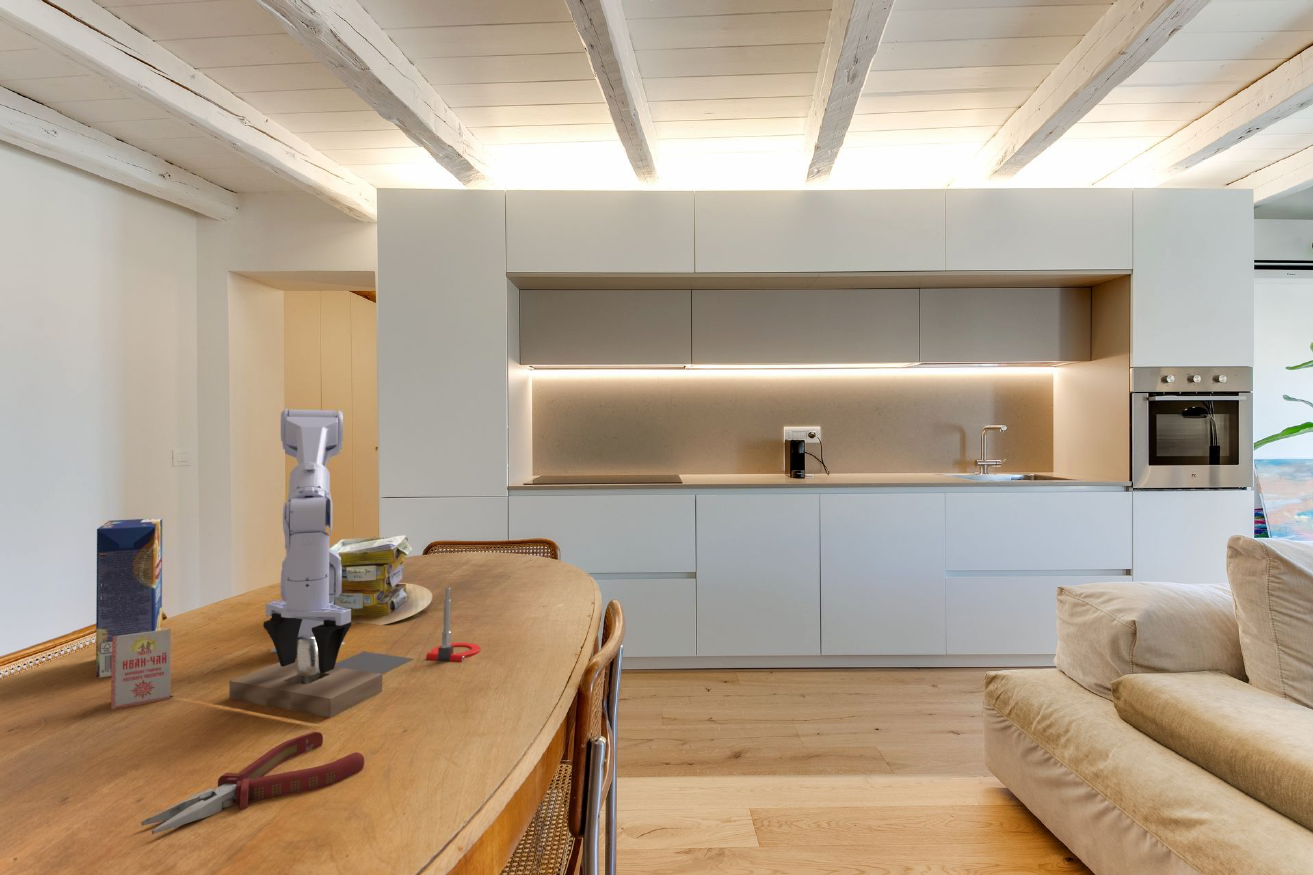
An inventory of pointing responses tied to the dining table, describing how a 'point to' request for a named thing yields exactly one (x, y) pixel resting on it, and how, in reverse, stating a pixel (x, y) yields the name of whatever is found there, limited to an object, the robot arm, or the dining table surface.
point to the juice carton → (127, 583)
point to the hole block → (306, 689)
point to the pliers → (260, 782)
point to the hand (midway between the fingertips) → (307, 667)
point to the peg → (307, 659)
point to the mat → (372, 662)
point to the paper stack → (377, 581)
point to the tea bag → (140, 668)
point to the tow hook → (446, 649)
